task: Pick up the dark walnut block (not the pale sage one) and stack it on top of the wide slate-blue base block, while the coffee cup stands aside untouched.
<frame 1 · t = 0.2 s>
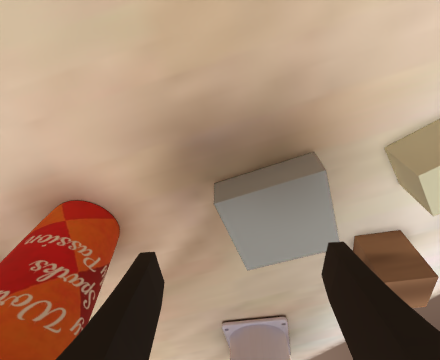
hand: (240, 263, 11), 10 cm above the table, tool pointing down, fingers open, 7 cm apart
walnut block: (374, 247, 25), on the table
sage block: (419, 152, 19), on the table
base block: (274, 203, 22), on the table
coffee cup: (86, 224, 23), on the table
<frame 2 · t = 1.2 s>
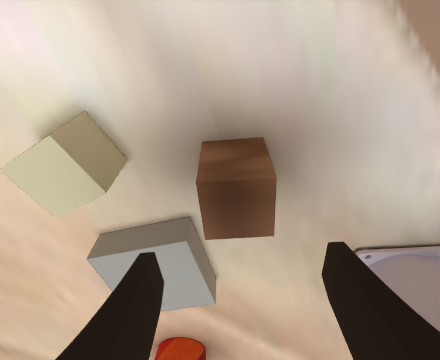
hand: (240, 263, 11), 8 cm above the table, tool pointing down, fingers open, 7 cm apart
walnut block: (234, 165, 18), on the table
sage block: (86, 149, 18), on the table
base block: (162, 254, 24), on the table
coffee cup: (181, 347, 33), on the table
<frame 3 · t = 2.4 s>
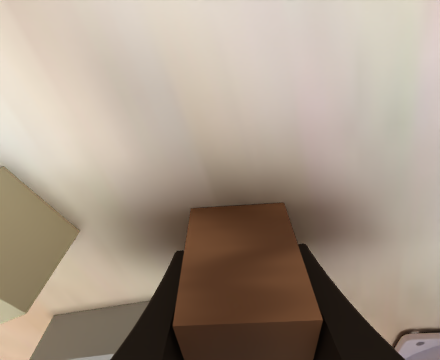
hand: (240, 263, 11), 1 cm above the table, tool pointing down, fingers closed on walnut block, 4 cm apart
walnut block: (238, 238, 12), on the table, touching gripper
sage block: (15, 217, 12), on the table
base block: (142, 333, 18), on the table
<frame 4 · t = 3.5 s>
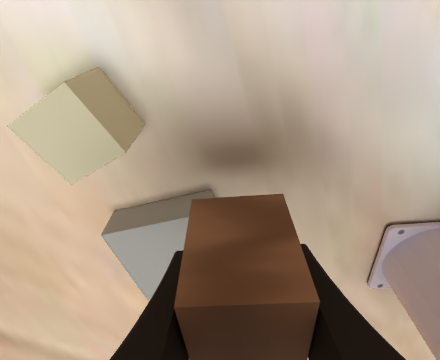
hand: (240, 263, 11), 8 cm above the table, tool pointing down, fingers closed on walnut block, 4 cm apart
walnut block: (238, 230, 12), point 7 cm above the table, touching gripper
sage block: (100, 113, 16), on the table
base block: (179, 233, 22), on the table
when the fingers open (6 cm above the table, at t = 4.8 s): walnut block drops 1 cm, point 3 cm above the table.
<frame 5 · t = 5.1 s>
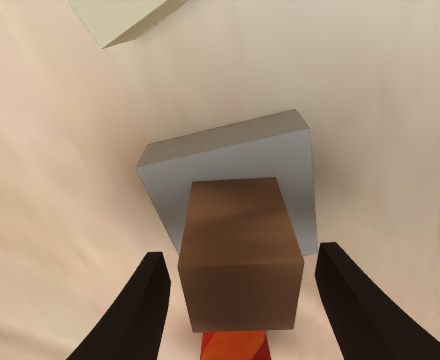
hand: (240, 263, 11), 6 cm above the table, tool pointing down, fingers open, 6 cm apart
walnut block: (235, 211, 13), point 3 cm above the table
base block: (234, 183, 16), on the table
coffee cup: (233, 330, 25), on the table
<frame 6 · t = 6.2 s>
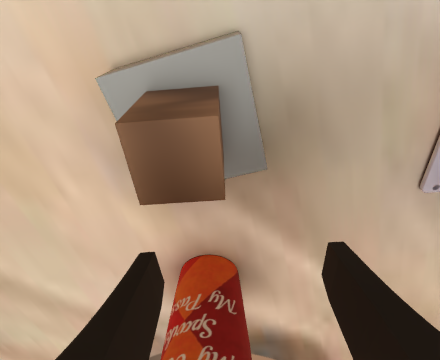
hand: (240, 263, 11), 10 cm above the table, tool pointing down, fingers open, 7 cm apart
walnut block: (187, 123, 15), point 3 cm above the table
base block: (194, 112, 18), on the table
coffee cup: (208, 272, 27), on the table
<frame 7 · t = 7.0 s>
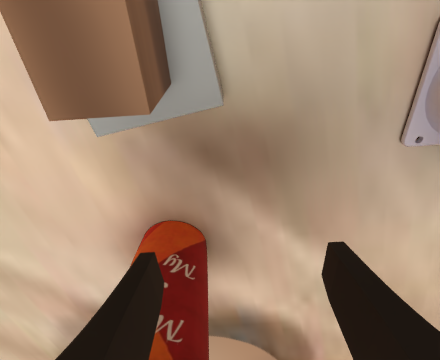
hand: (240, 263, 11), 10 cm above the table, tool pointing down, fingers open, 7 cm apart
walnut block: (125, 45, 13), point 3 cm above the table, touching base block
base block: (143, 43, 16), on the table, touching walnut block
coffee cup: (174, 242, 25), on the table
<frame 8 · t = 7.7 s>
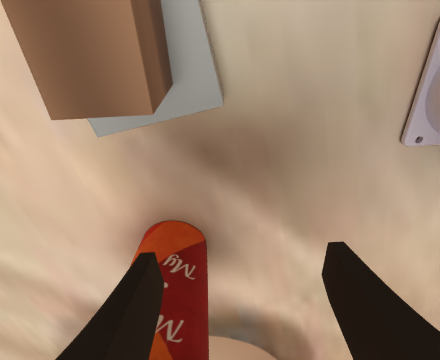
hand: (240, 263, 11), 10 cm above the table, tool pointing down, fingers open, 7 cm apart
walnut block: (128, 45, 13), point 2 cm above the table, touching base block
base block: (144, 43, 16), on the table, touching walnut block
coffee cup: (174, 242, 25), on the table
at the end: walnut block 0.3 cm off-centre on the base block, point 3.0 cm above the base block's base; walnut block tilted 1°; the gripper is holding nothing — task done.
